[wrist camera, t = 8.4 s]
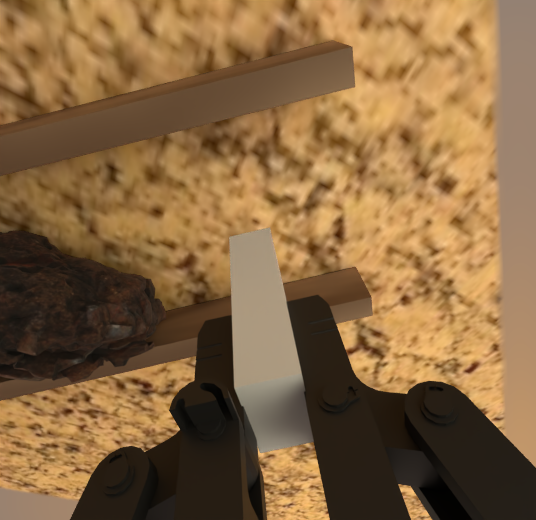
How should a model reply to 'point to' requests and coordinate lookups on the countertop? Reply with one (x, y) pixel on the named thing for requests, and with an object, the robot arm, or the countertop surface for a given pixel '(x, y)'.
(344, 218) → the countertop surface
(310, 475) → the countertop surface
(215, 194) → the countertop surface
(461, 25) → the countertop surface
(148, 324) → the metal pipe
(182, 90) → the channel rails
